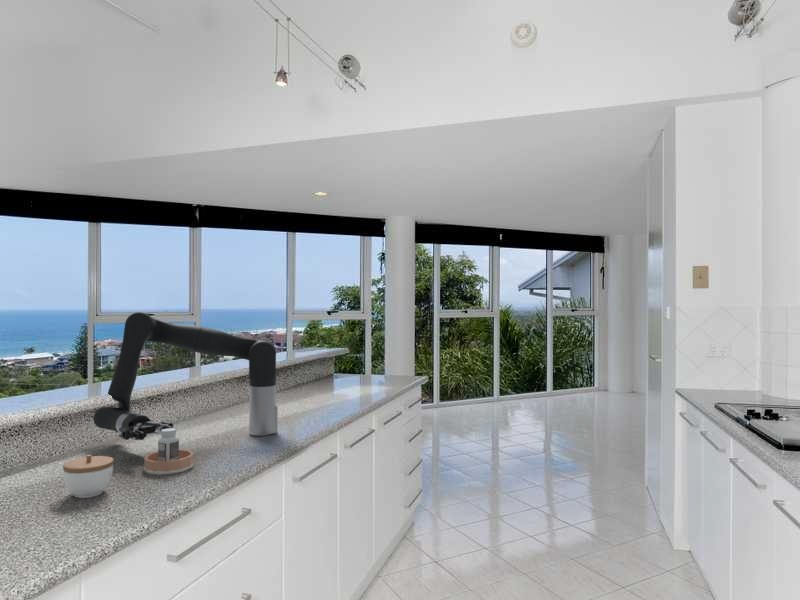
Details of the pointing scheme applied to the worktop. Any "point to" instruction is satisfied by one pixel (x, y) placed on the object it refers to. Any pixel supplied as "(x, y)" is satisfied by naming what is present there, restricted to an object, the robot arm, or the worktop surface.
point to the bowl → (168, 463)
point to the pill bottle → (168, 445)
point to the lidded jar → (88, 475)
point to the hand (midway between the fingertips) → (157, 433)
